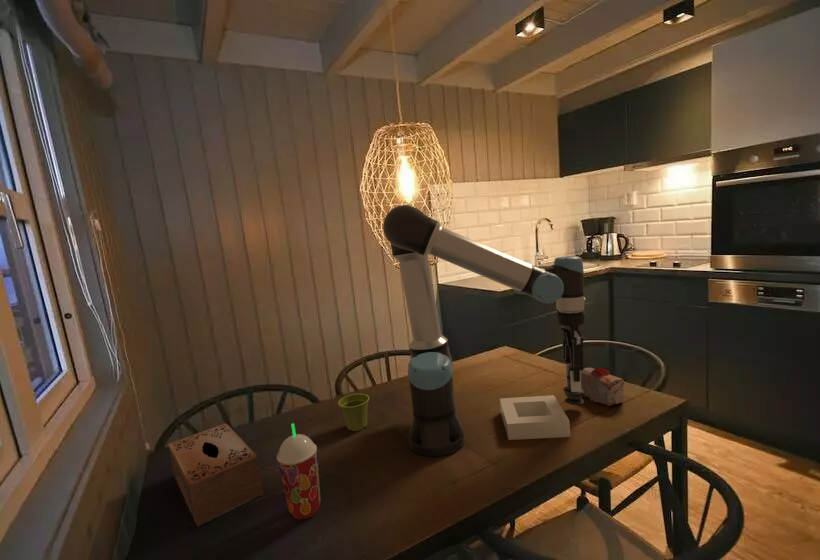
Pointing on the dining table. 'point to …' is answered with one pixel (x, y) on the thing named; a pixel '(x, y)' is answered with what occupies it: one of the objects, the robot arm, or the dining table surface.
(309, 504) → the smoothie
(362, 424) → the plant pot
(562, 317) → the robot arm
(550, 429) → the square frame
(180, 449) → the tissue box cover
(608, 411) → the dining table surface
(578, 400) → the dark chess piece
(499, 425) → the dining table surface
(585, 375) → the food item
